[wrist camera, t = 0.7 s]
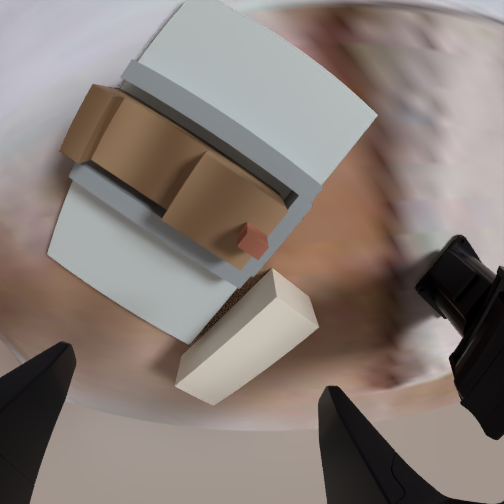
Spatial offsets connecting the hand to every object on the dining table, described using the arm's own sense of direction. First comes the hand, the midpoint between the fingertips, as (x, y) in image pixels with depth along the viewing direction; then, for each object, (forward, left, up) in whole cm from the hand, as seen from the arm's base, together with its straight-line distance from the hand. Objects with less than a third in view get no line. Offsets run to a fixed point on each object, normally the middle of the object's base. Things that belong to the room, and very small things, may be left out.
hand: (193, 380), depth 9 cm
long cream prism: (-6, +6, -13) cm, 15 cm away
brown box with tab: (+5, -3, -12) cm, 13 cm away
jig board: (+4, -2, -13) cm, 13 cm away
